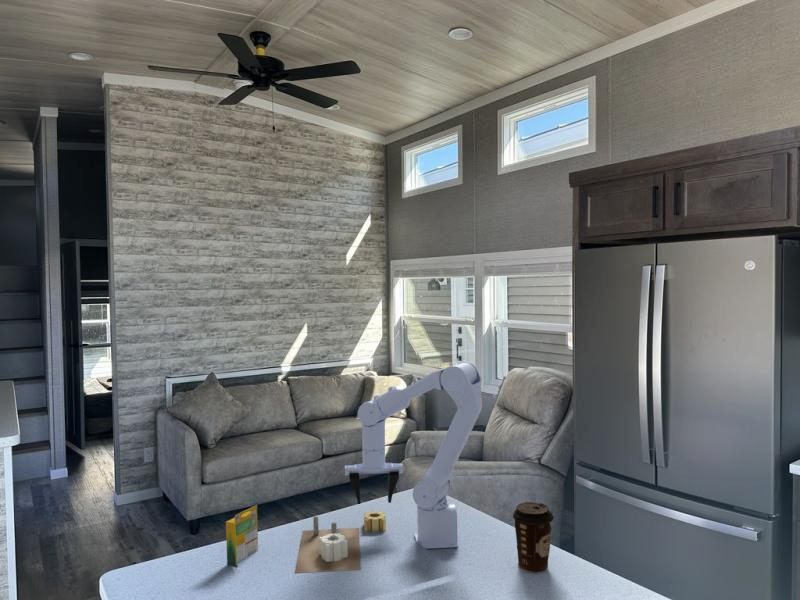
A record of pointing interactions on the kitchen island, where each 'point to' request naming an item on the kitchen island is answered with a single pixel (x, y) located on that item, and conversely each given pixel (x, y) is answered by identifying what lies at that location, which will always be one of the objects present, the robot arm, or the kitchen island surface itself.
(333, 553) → the nylon gear
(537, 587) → the kitchen island surface
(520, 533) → the coffee cup
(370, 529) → the brass gear
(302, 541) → the gear board
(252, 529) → the crayon box
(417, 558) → the kitchen island surface
